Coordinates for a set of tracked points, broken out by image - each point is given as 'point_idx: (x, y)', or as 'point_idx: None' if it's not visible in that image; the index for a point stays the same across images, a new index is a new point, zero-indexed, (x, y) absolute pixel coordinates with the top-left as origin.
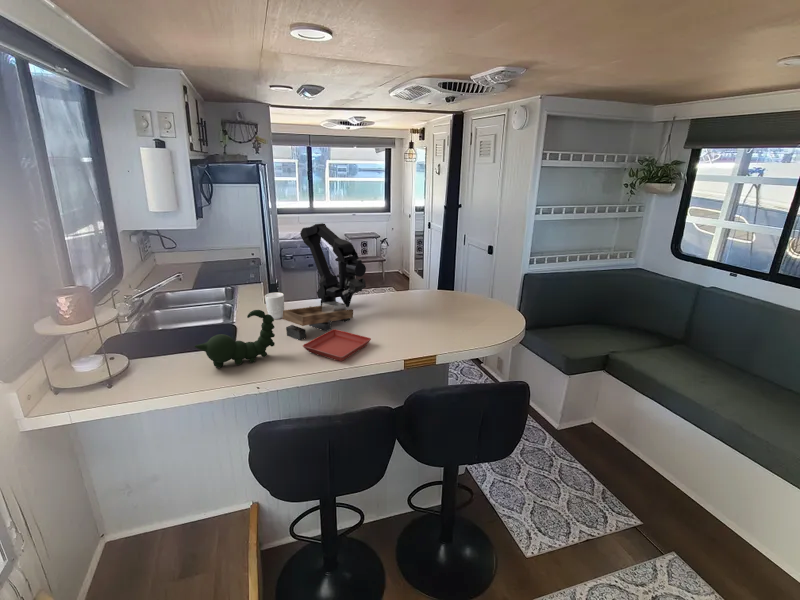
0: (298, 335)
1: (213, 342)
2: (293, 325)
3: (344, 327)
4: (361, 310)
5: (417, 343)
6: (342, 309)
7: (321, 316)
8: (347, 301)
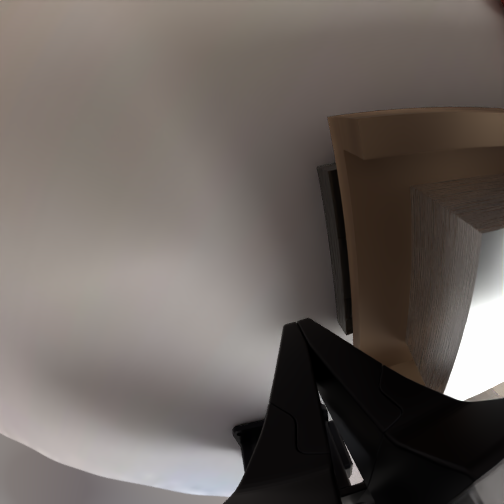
0: None
1: None
2: None
3: (434, 63)
4: (96, 321)
5: None
6: (486, 195)
7: None
8: (361, 364)
